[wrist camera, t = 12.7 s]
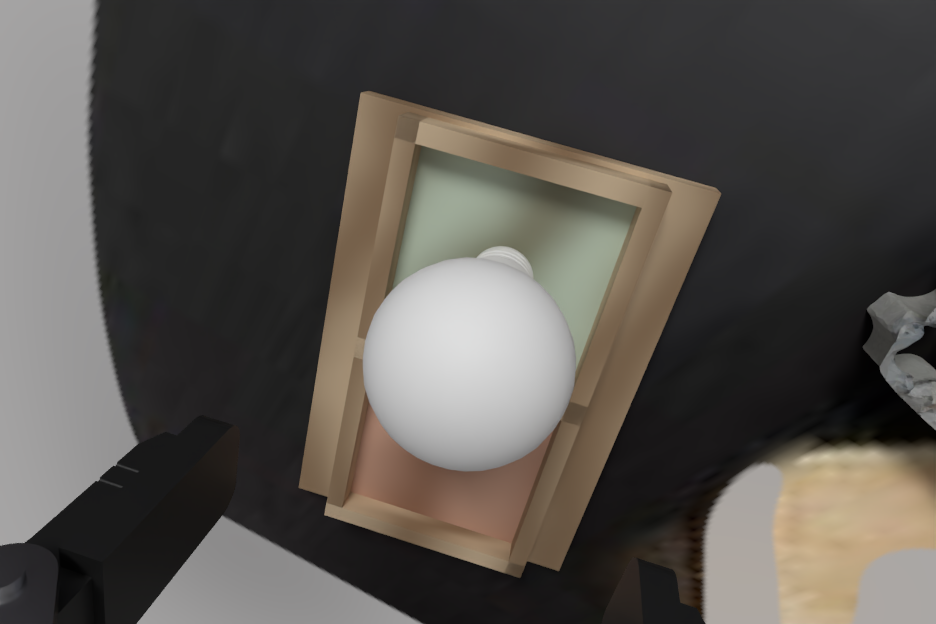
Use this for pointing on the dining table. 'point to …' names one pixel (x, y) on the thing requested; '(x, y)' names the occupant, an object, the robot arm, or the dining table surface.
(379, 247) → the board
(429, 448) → the lightbulb
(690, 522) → the dining table surface
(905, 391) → the egg carton
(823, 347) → the dining table surface
